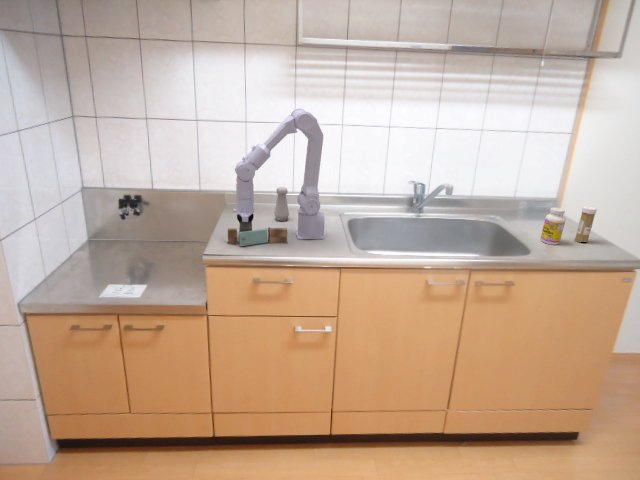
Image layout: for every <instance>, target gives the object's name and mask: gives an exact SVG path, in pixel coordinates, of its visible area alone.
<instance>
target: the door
mask: <svg viewBox="0 0 640 480" xmlns="http://www.w3.org/2000/svg"><path fill="white" fill-rule="evenodd" d="M239 239H240V243H239V246H240V247H244V246H245V247H246V246H251V245H257V244H258V245H259V244H267V243H268V229H267V228H261V229H252V231H244V232H239V231H238V240H239Z"/></svg>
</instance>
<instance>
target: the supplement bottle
mask: <svg viewBox="0 0 640 480" xmlns="http://www.w3.org/2000/svg"><path fill="white" fill-rule="evenodd" d="M549 212H550V213H549V214H547V215H546V216H545V219H544V223H543V227H542V230H541V235H540V241H541V242H542V243H544V244H547V245H553V246H555V245H556V246H557V245H559V244H560V243H561V239H562V236H563V235H562V234H563V231H564V228H565V223H566V217H565V216H564V215H565V212H566V211H565V209H564V208H561V207H553V206H552V207H550V210H549Z"/></svg>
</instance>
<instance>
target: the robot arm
mask: <svg viewBox="0 0 640 480" xmlns="http://www.w3.org/2000/svg"><path fill="white" fill-rule="evenodd" d="M318 122H319V121H318V119H317V118H316V117H315V116H314V115H313V114H312V113H311V112H309V111H307V110H305V109H303V108H295V109H294V110H292V112H291V113H290V114H288V115H287V116H286V117H285V118H284V120H282V122H280V124H279V125H278V126H277V127H276V128H275V130H274V131H273V132H272V133H271V134H270V135H269V136H268V138H267V139H266V140H265V141H264V142H263V143H258V144H256V145H252V146H251V151H250V152H249V153H247V155H246V156H245V157H244V156H243V157H242V158H241V160H240V161H238V162H237V163H236V165H235V168H234V172H235V174H236V183H235V187H236V191H235V192H236V195H235V196H236V208H233V209H232V210H233V211H232V212H233V213H236V219H237V221H238V223H239V224H240V221H242V222H253V220H254V217H255V215H254V213H255V208H254V207H255V205H254V203H255V202H254V201H255V200H254V199H255V198H254V190H255V189H254V188H255V187H254V182H253V181H254V178H255V176H256V171H258V170H259V169H260V168H262V167H263V165H264V164H265V163H266V162H267V161H268V160H269V159H270V158H271V151H272V150H273V149H274V148H275V147H276V146H277V145H279V143H280V142H282V141H283V139H284V138H286V136H288V135H289V134H290V135H291V134H296V133H297V134H298V131H297V129H298V130H299V131H300V132H301V133H303V135H304V136H305V137H306V139H307V146H306V156H305V165H304V174H303V184H302V185H301V189H300V193H299V194H298V196H297V198H296V199H297V204H298V205H299V208H298V210H297V211H298V212H297V230H295V236H296V237H297V240H324V239H325V224H326V223H325V222H326V221H325V219H326V218H325V214H324V211H320V209H321V202H320V201H319V200H320V199H319V198H320V193H319V188H318V186H319V177H320V168H321V161H322V152H323V145H324V144H323V142H324V133H323V131H322V129H321V127H320V124H319V123H318Z"/></svg>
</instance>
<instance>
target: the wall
mask: <svg viewBox="0 0 640 480" xmlns="http://www.w3.org/2000/svg"><path fill="white" fill-rule="evenodd" d="M267 243H269V244H288V228H287V227H270V226H269V227H268V229H267ZM227 245H238V229H237V228H234V227H233V228H227Z"/></svg>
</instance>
